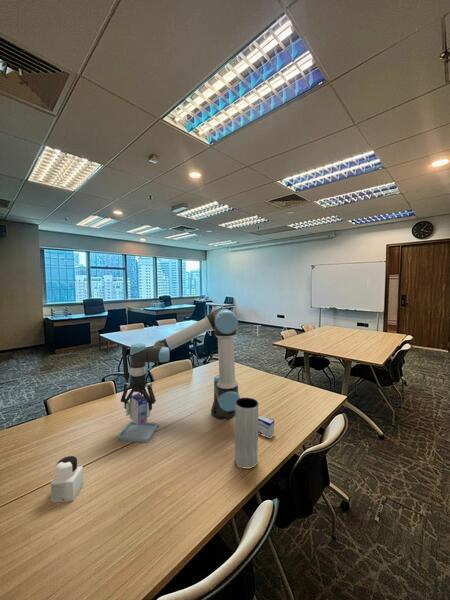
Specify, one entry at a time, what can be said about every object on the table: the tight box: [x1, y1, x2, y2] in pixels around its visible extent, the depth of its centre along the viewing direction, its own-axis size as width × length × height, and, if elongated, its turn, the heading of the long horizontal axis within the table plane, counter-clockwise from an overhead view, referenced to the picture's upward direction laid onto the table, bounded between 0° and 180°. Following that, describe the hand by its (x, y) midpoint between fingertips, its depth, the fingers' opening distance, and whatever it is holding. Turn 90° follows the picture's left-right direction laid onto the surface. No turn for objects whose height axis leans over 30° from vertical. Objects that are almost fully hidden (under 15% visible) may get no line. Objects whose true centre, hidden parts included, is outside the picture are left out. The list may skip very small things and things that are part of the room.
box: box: [258, 415, 275, 437], centre depth 132 cm, size 8×4×9 cm, turn 52°
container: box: [50, 455, 84, 503], centre depth 94 cm, size 8×8×13 cm
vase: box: [234, 397, 259, 467], centre depth 111 cm, size 10×10×27 cm
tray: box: [116, 420, 159, 443], centre depth 132 cm, size 16×14×2 cm
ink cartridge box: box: [129, 392, 148, 425], centre depth 131 cm, size 10×6×14 cm, turn 45°
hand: (138, 415), depth 131 cm, fingers closed on ink cartridge box, 10 cm apart
